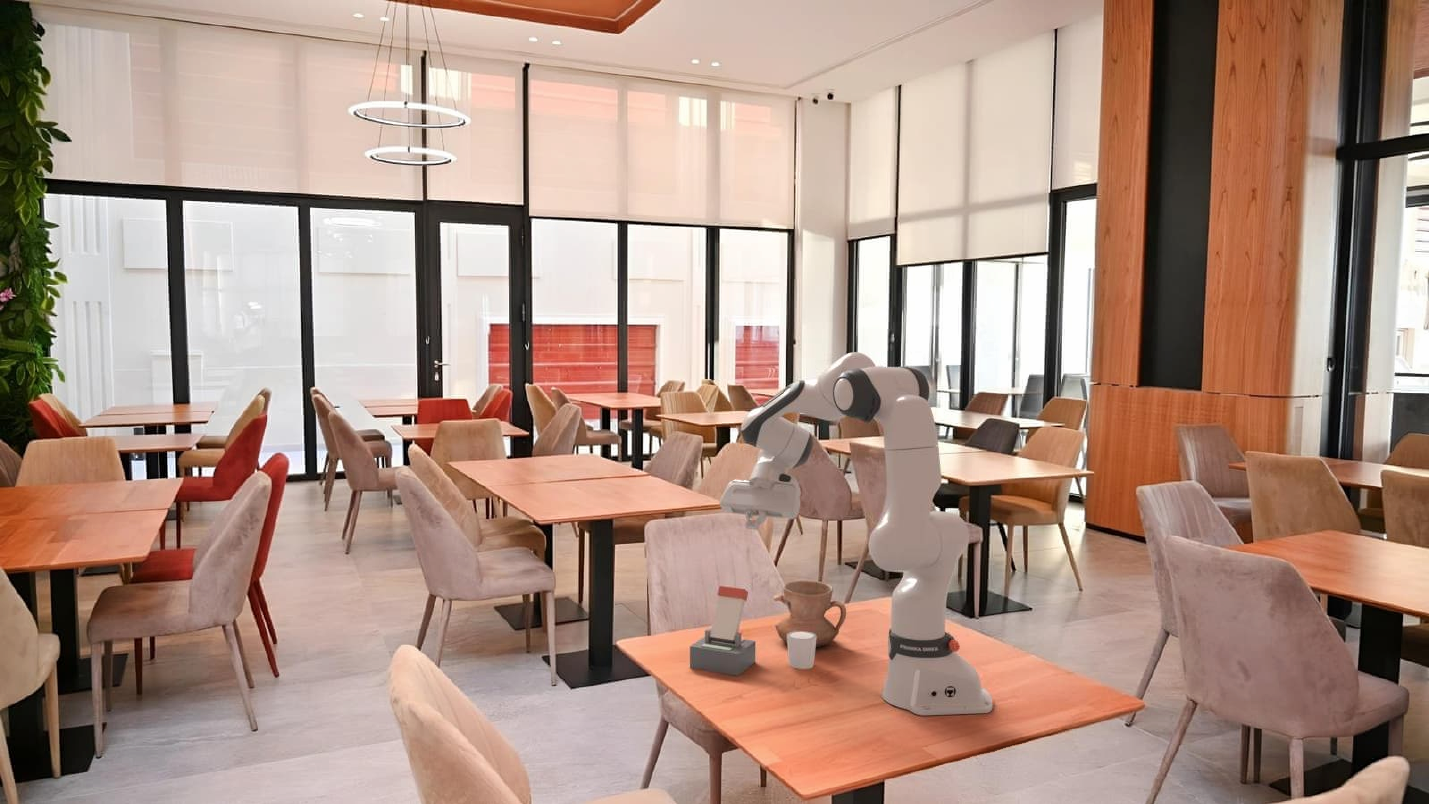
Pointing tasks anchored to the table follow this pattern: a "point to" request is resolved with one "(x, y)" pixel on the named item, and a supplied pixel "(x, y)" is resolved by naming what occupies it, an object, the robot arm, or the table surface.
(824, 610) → the ceramic jug
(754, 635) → the table surface
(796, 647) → the shot glass
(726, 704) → the table surface
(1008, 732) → the table surface
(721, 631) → the lever
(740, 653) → the switch box
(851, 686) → the table surface
